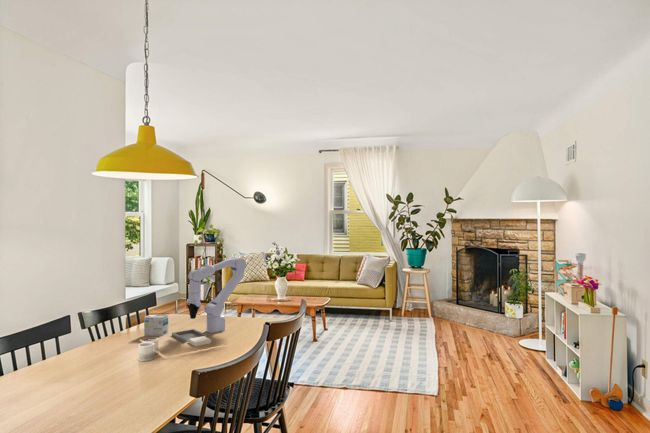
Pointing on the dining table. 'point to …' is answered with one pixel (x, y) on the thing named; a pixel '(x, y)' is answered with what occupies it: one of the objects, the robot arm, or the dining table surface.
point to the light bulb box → (156, 325)
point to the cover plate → (199, 341)
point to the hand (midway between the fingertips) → (192, 318)
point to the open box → (187, 335)
